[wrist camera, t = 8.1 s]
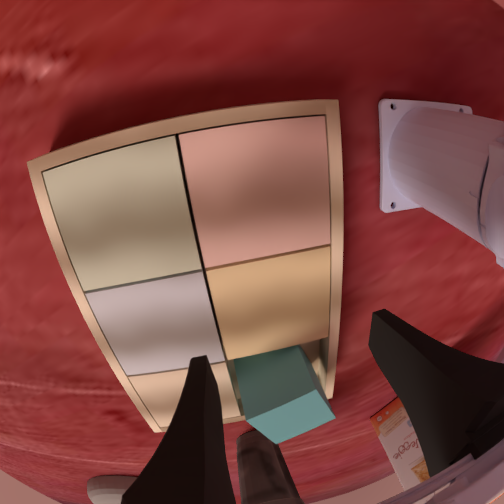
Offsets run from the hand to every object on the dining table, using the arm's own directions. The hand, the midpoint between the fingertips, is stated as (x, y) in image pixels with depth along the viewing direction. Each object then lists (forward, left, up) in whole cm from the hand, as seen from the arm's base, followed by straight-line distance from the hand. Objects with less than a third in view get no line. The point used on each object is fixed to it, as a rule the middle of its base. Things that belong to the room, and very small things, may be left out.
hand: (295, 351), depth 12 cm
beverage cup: (+3, +25, -10) cm, 27 cm away
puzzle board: (+3, +3, -9) cm, 10 cm away
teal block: (0, +10, -8) cm, 13 cm away
